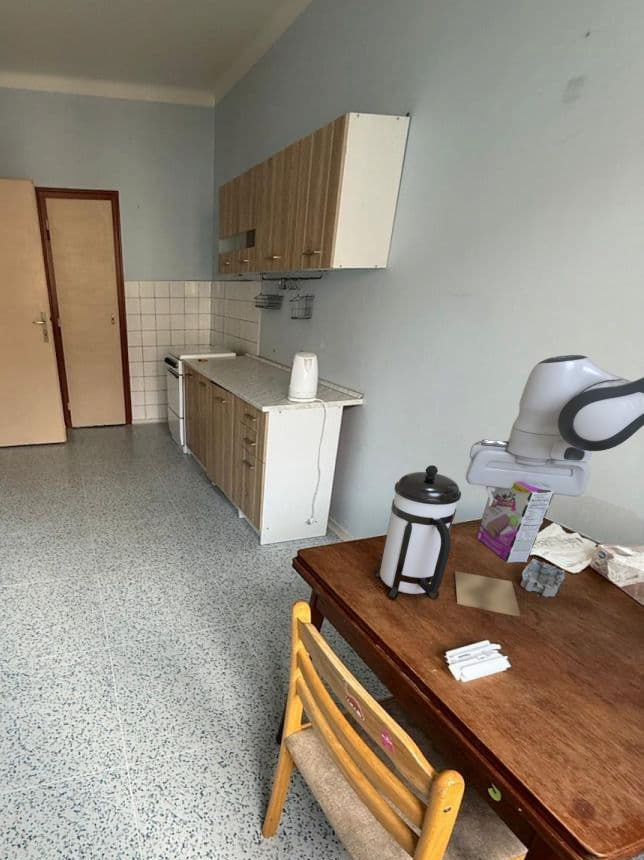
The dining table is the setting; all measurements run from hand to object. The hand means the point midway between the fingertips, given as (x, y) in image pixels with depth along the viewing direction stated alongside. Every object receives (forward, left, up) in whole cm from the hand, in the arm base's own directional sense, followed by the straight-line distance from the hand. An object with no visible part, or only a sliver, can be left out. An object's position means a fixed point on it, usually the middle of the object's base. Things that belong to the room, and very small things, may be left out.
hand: (513, 508), depth 98 cm
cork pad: (0, 0, -22) cm, 22 cm away
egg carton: (-12, -9, -22) cm, 26 cm away
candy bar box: (0, 0, -10) cm, 10 cm away
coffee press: (+16, +5, -22) cm, 27 cm away
